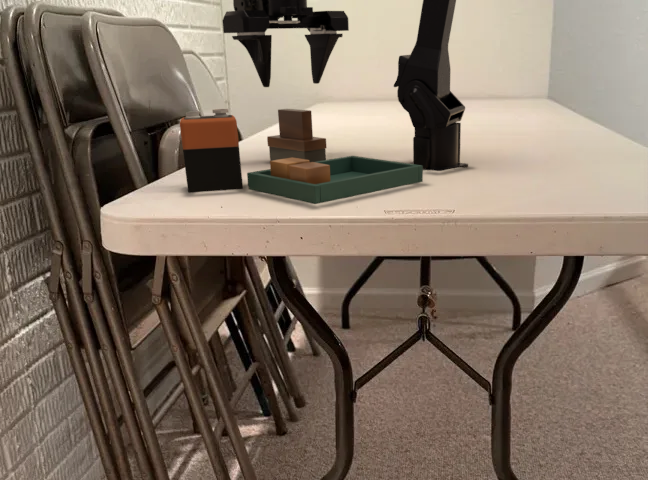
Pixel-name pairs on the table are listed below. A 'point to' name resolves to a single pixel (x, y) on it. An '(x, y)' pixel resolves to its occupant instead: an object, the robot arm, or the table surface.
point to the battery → (211, 151)
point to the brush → (296, 137)
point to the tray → (340, 179)
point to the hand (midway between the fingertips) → (291, 85)
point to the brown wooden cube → (284, 166)
